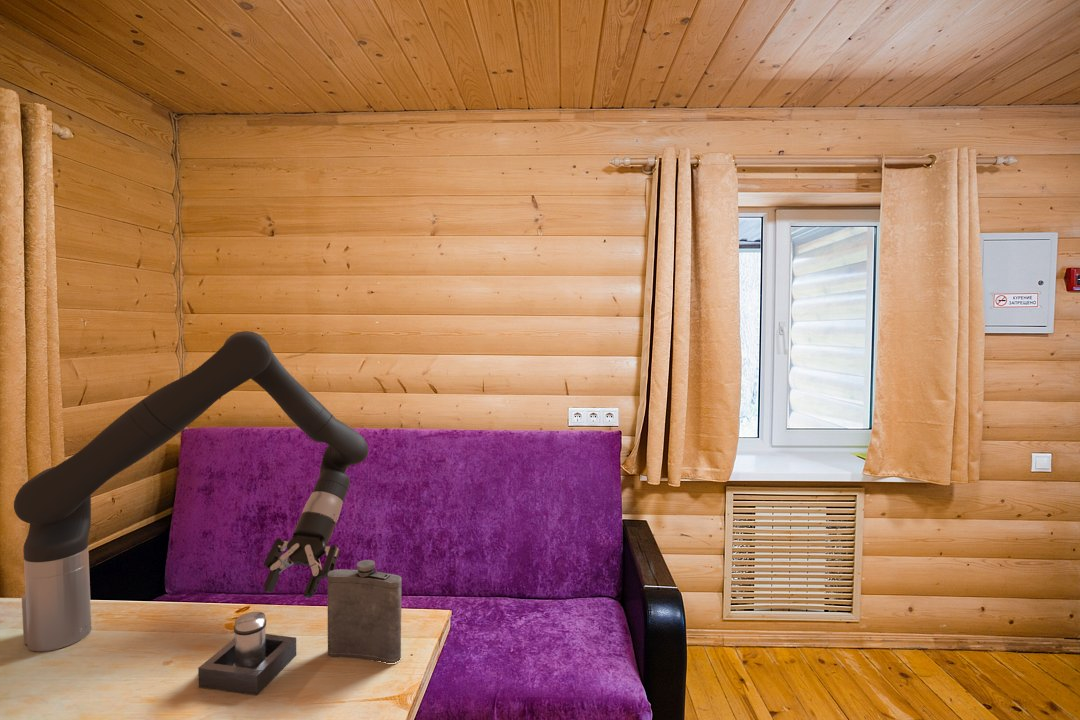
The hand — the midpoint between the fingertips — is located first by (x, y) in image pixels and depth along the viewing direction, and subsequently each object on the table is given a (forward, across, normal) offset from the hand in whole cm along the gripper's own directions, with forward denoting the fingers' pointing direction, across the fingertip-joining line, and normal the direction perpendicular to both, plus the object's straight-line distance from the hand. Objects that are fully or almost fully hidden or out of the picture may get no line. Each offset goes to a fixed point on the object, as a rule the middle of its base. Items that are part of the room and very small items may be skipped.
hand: (287, 594), depth 107 cm
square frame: (+14, +1, -3) cm, 14 cm away
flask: (+8, +19, +3) cm, 21 cm away
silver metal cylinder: (+14, +1, -3) cm, 14 cm away
